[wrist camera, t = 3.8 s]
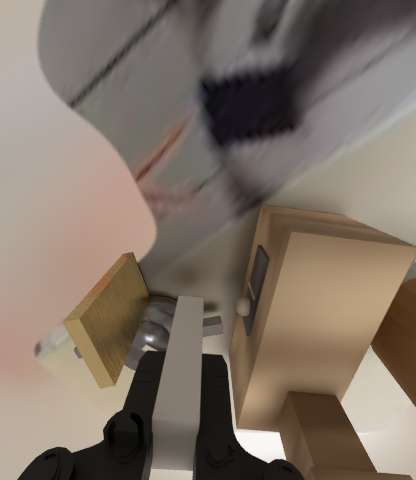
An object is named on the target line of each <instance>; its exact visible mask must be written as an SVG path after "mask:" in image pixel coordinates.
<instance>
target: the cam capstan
mask: <svg viewBox="0 0 416 480" xmlns="http://www.w3.org/2000/svg"><path fill="white" fill-rule="evenodd" d="M176 306H177V301H176V300H173V299H171V298H167V297H163V296H149V294H148V291H147V288H146V286H145V283H144V280H143V278H142V275H141V272H140V270H139V267H138V264H137V262H136V259H135V256H134V254H133V252H132V253H127V254H123V255H122V256H121V257H120V258H119V259H118V260H117V261H116V263H115V264H114V265H113V266H112V267H111V268H110V269H109V271H108V272H107V273H106V274H105V275H104V276H103V278H102V279H101V280H100V281H99V282H98V283H97V284H96V285H95V286H94V288H93V289H92V290H91V291H90V292H89V293H88V294H87V295H86V296H85V298H84V299H83V300H82V301H81V302H80V303H79V305H77V307H76V308H75V309H74V310H73V311H72V312H71V313H70V315H69V316H68V317H67V318H66V319H65V320H64V321H63V324H64V325H65V327H66V329H67V331H68V332H69V334H70V336H71V338H72V339H73V341H74V343H75V345H76V347H75V349H74V351H75V353H76V355H77V356H78V358H83V359H84V361H85V362H86V364H87V366H88V368H89V369H90V371H91V373H92V375H93V377H94V378H95V380H96V382H97V384H98V385H99V387H100V388H105V387H111V386H115V385H116V382H117V380H118V377H119V375H120V372H121V370H122V367H123V365H126V366H127V367H129V368H131V369H132V370H135V371H136V369H137V366H138V363H139V360H140V358H141V357H142V356H143V355H144V354H145V352H146V351H147V350H151V351H165V352H167V347H168V343H169V338H170V333H171V329H172V324H173V319H174V315H175V310H176ZM217 334H223V325H222V321H221V317H220V316H215V317H210V318H204V319H203V336H202V337H205V336H211V335H217Z"/></svg>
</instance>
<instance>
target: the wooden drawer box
mask: <svg viewBox="0 0 416 480" xmlns="http://www.w3.org/2000/svg"><path fill="white" fill-rule="evenodd" d="M415 255H416V246H414V245H412V244H409V243H407V242H405V241H402V240H400V239H398V238H395V237H393V236H391V235H388V234H386V233H384V232H381V231H379V230H377V229H374V228H372V227H370V226H367V225H365V224H363V223H360V222H358V221H356V220H353V219H351V218H349V217H346V216H344V215H337V214H329V213H321V212H314V211H306V210H299V209H291V208H283V207H276V206H268V205H261V208H260V213H259V218H258V222H257V227H256V231H255V236H254V241H253V245H252V250H251V254H250V259H249V263H248V268H247V273H246V277H245V282H244V286H243V291H242V296H241V298H240V299H238V300H237V302H236V305H235V307H236V311H237V312H238V314H237V319H236V323H235V328H234V332H233V337H232V341H231V346H230V351H229V359H230V369H231V379H232V388H233V398H234V408H235V417H236V427H237V429H249V430H261V431H272V432H279V433H280V437H281V441H282V444H283V448H284V452H285V456H286V460H287V461H288V462H290V463H292V464H293V465H294V466H295V467H296V468H297V469H298V470H299V471H300V472H301V474H302V476H303V477H304V479H305V480H412V478H411V476H410V475H400V474H389V473H377V471H376V469H375V467H374V465H373V463H372V462H371V460H370V458H369V456H368V454H367V452H366V450H365V449H364V447H363V445H362V443H361V441H360V439H359V437H358V435H357V434H356V432H355V430H354V428H353V426H352V424H351V422H350V421H349V419H348V417H347V415H346V413H345V411H344V409H343V407H342V406H341V404H340V403H341V401H342V399H343V397H344V395H345V393H346V391H347V389H348V387H349V385H350V383H351V381H352V379H353V377H354V375H355V373H356V371H357V369H358V367H359V365H360V363H361V361H362V359H363V357H364V355H365V353H366V351H367V350H368V348H369V346H370V344H371V342H372V340H373V338H374V336H375V334H376V332H377V330H378V328H379V326H380V324H381V322H382V320H383V318H384V316H385V314H386V312H387V310H388V308H389V306H390V304H391V302H392V300H393V298H394V296H395V295H396V293H397V291H398V289H399V287H400V285H401V283H402V281H403V279H404V277H405V275H406V273H407V271H408V269H409V267H410V265H411V263H412V261H413V259H414V257H415Z"/></svg>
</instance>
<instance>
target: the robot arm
mask: <svg viewBox="0 0 416 480" xmlns="http://www.w3.org/2000/svg"><path fill="white" fill-rule="evenodd" d="M203 306H204V298H202V297H190V296H178V301H177V306H176V310H175V315H174V319H173V324H172V329H171V333H170V338H169V343H168V347H167V352H165V351H151V350H147V351H146V352H145V354H144V355H143V356H142V357H141V358H140V360H139V363H138V366H137V369H136V372H135V374H134V377H133V381H132V383H131V386H130V389H129V392H128V395H127V398H126V401H125V404H124V407H123V410H121V411H119V412H117V413H116V414H115V415H114V416H112V417H111V418H110V420H109V421H108V422H107V424H106V426H105V427H104V429H103V434H104V440H103V441H102V442H100V443H99V444H96V445H94V446H92V447H89V448H86V449H83V450H80V451H77V452H74V453H71V452H70V451H69V450H68V449H67V448H62V447H55V448H52V449H49V450H47V451H45V452H44V453H42V454H41V455H39V456H38V457H36V458H35V459H34V460H33V461H32V462H31V464H30V465H29V466H28V467H27V468H26V469H25V470H24V472H23V473H22V474H21V475H20V477H19V478H18V479H17V480H149V475H150V470H151V465H152V468H154V469H170V470H172V469H173V470H190V471H193V480H305V479H304V477H303V476H302V474H301V472H300V471H299V470H298V469H297V468H296V467H295V466H294V465H293V464H292V463H290V462H288V461H286V460H283V459H275V460H273V461H272V462H270V463H267V462H265V461H263V460H261V459H259V458H256V457H255V456H252V455H251V454H249V453H248V452H246V451H245V450H244V449H243V448H242V447H241V446H240V444H239V442H238V441H237V439H236V437H235V434H234V431H233V425H232V414H231V402H230V391H229V380H228V369H227V364H226V362H225V360H224V358H223V356H222V355H215V354H202V336H203Z"/></svg>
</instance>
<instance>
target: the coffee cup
mask: <svg viewBox="0 0 416 480" xmlns="http://www.w3.org/2000/svg"><path fill="white" fill-rule="evenodd" d="M370 345H371V346H372V349H373V351H374V352H375V353H376V355H377V356H378V357H379V359H380V360H381V361H382V363H383V364H384V365H385V367H386V368H387V369H388V371H389V372H390V373H391V375H392V376H393V377H394V379H395V380H396V381H397V383H398V384H399V385H400V387H401V388H402V389H403V391H404V392H405V393H406V395H407V396H408V397H409V399H410V400H411V401H412V403H413V404H414V405H415V406H416V265H414V264H411V265H410V267H409V269H408V271H407V273H406V275H405V277H404V279H403V281H402V283H401V285H400V287H399V289H398V291H397V293H396V295H395V296H394V298H393V300H392V302H391V304H390V306H389V308H388V310H387V312H386V314H385V316H384V318H383V320H382V322H381V324H380V326H379V328H378V330H377V332H376V334H375V336H374V338H373V340H372V342H371V344H370Z"/></svg>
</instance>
